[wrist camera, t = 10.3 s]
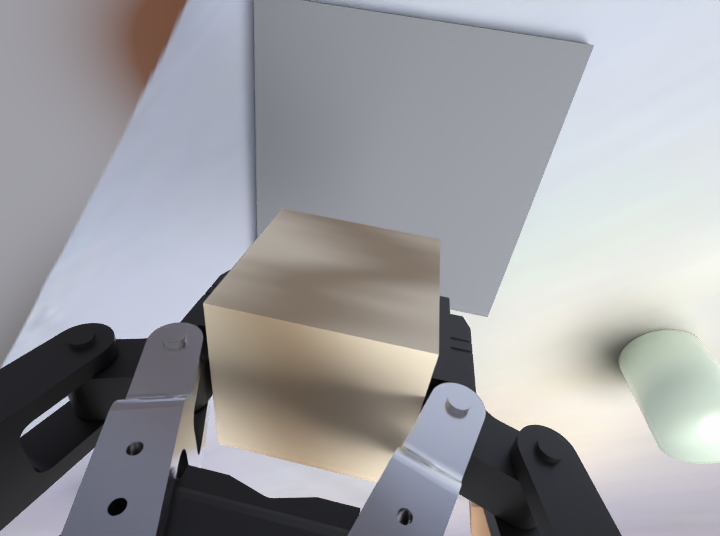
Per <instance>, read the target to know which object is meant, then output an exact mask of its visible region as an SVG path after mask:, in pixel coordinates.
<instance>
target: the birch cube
mask: <svg viewBox="0 0 720 536" xmlns="http://www.w3.org/2000/svg"><path fill="white" fill-rule="evenodd" d="M439 300H440V239H435V238H430V237H425V236H420V235H415V234H410V233H405V232H400V231H395V230H390V229H385V228H380V227H375V226H369V225H364V224H359V223H354V222H349V221H344V220H339V219H334V218H329V217H324V216H319V215H314V214H309V213H304V212H299V211H294V210H288V209H283V208H282V209H281V210H280V212H279V213H278V214H277V215H276V216H275V218H274V219H273V220H272V221H271V222H270V224H269V225H268V226H267V227H266V228H265V230H264V231H263V232H262V233H261V234H260V236H259V237H258V238H257V239H256V240H255V241H254V243H253V244H252V245H251V246H250V247H249V249H248V250H247V251H246V252H245V253H244V255H243V256H242V257H241V258H240V259H239V261H238V262H237V263H236V264H235V265H234V267H233V268H232V269H231V270H230V271H229V273H228V274H227V275H226V276H225V277H224V279H223V280H222V281H221V282H220V283H219V285H218V286H217V287H216V288H215V289H214V291H213V292H212V293H211V294H210V295H209V297H208V298H207V299H206V300H205V301H204V303H203V307H204V316H205V326H206V335H207V344H208V354H209V363H210V373H211V382H212V391H213V401H214V410H215V419H216V429H217V438H218V444H222V445H226V446H230V447H234V448H238V449H242V450H246V451H250V452H254V453H258V454H262V455H266V456H270V457H274V458H279V459H283V460H287V461H291V462H295V463H299V464H303V465H307V466H311V467H315V468H319V469H323V470H327V471H331V472H335V473H340V474H344V475H348V476H352V477H356V478H360V479H364V480H368V481H372V482H376V483H377V482H378V480H379V479H380V477H381V475H382V473H383V472H384V470H385V468H386V466H387V465H388V463H389V461H390V459H391V457H392V456H393V454H394V452H395V451H396V449H397V448H398V447H399V446H402V445H403V443H404V441H405V440H406V438H407V436H408V434H409V432H410V430H411V429H412V427H413V425H414V423H415V421H416V420H417V418H418V416H419V413H420V410H421V407H422V404H423V401H424V398H425V395H426V392H427V389H428V386H429V383H430V380H431V377H432V374H433V371H434V368H435V365H436V362H437V359H438V356H439Z"/></svg>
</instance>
